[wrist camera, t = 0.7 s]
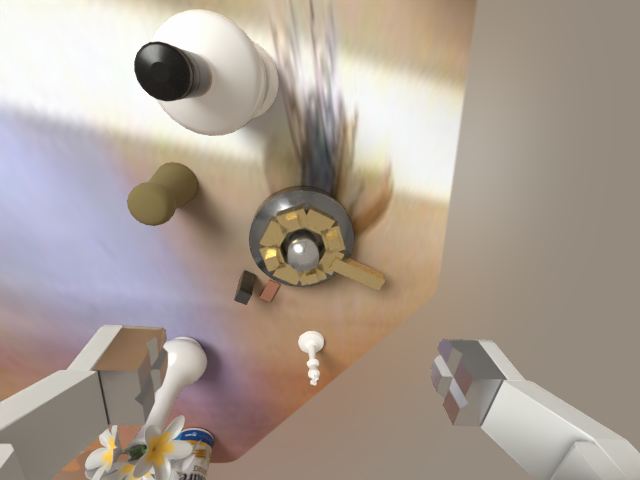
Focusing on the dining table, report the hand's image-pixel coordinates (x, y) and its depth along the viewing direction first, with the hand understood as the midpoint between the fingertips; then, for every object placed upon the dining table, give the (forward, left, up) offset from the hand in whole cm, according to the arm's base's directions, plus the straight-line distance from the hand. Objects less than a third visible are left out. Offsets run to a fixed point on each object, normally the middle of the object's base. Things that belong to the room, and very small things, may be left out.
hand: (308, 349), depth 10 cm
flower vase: (+43, 0, -41) cm, 59 cm away
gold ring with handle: (+12, +12, -37) cm, 41 cm away
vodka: (-4, -9, -41) cm, 42 cm away
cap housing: (+15, +8, -41) cm, 44 cm away
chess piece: (+31, +20, -41) cm, 55 cm away
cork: (+13, -12, -41) cm, 45 cm away
